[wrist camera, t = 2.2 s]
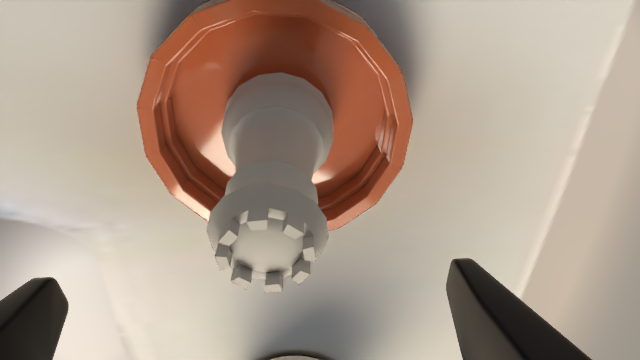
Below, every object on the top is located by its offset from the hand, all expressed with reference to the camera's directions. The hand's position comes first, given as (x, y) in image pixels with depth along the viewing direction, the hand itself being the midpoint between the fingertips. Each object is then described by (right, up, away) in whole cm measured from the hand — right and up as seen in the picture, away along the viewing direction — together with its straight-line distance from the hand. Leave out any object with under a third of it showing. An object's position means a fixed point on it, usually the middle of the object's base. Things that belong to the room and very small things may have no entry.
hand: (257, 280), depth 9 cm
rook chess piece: (0, +5, +8) cm, 9 cm away
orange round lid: (0, +5, +8) cm, 9 cm away
